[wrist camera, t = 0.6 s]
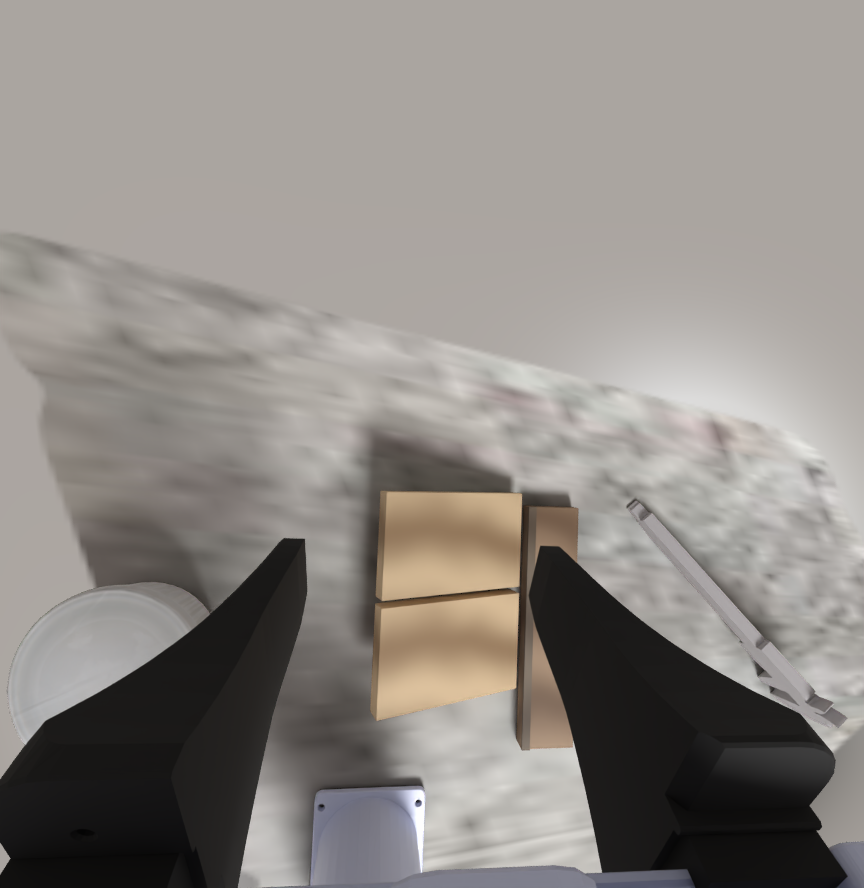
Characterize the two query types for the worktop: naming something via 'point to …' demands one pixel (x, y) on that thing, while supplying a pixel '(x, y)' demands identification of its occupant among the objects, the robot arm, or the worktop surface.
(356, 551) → the worktop surface
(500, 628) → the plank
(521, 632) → the floor panel
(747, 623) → the caliper
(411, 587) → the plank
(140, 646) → the ramekin
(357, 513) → the worktop surface
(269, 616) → the robot arm
